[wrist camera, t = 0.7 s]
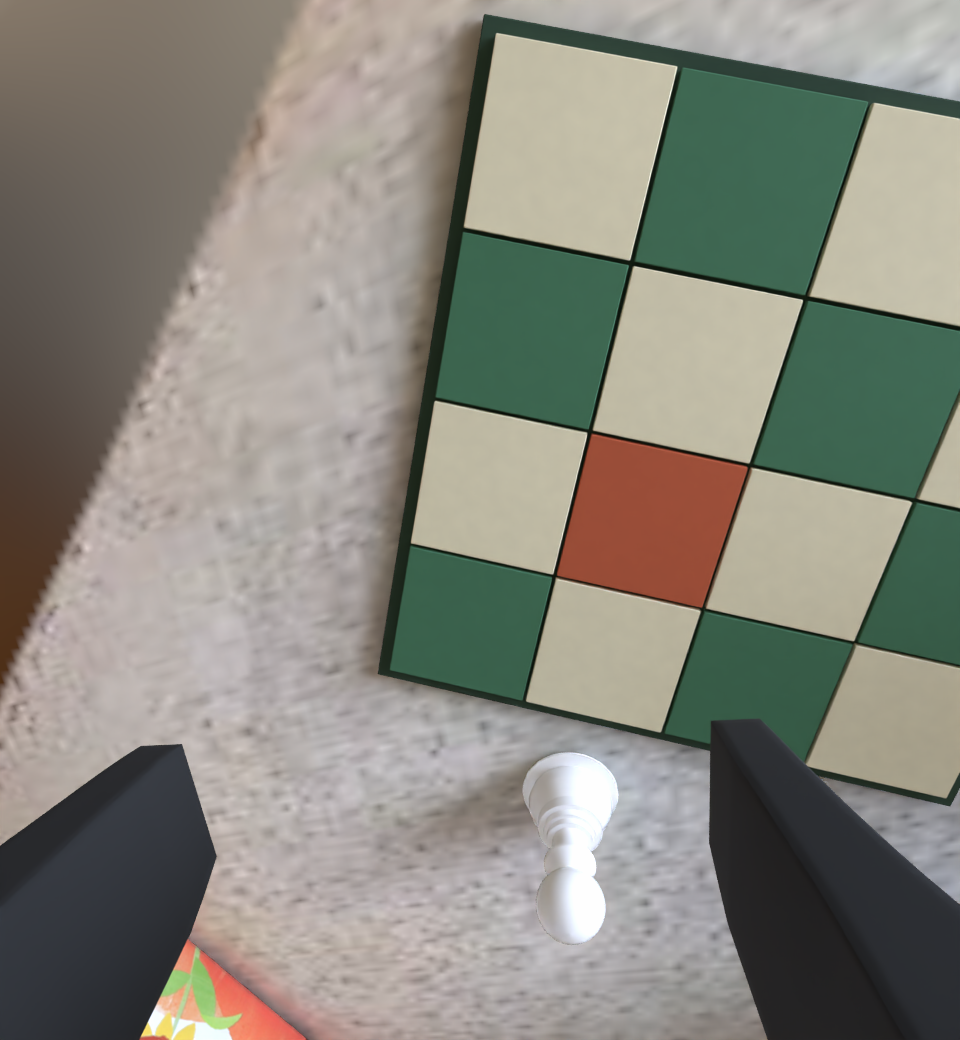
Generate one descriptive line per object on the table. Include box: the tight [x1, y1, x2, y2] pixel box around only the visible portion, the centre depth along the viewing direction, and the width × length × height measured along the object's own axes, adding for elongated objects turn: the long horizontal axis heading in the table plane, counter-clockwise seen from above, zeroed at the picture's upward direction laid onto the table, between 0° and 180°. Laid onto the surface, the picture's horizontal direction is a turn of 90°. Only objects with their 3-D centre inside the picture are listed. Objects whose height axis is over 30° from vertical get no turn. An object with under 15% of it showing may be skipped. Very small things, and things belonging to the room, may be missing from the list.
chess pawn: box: [523, 752, 618, 945], centre depth 19 cm, size 3×3×5 cm
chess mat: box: [378, 14, 960, 806], centre depth 18 cm, size 17×17×1 cm
